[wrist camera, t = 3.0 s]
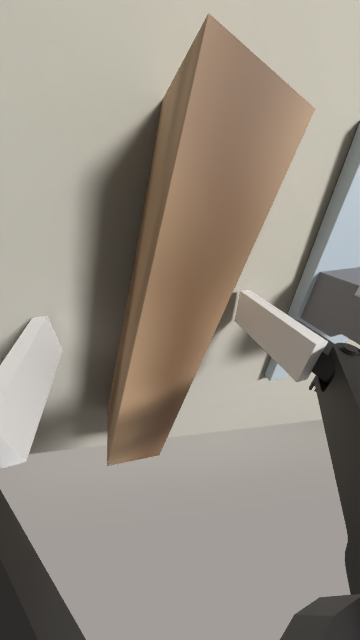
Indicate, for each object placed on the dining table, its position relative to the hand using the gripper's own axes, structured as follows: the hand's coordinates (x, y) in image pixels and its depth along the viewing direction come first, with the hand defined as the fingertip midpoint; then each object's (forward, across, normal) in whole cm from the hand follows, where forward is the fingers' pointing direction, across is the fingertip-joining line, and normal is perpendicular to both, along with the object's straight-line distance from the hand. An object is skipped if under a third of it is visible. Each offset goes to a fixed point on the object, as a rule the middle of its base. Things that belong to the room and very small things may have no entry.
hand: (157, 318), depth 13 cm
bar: (+1, 0, 0) cm, 1 cm away
